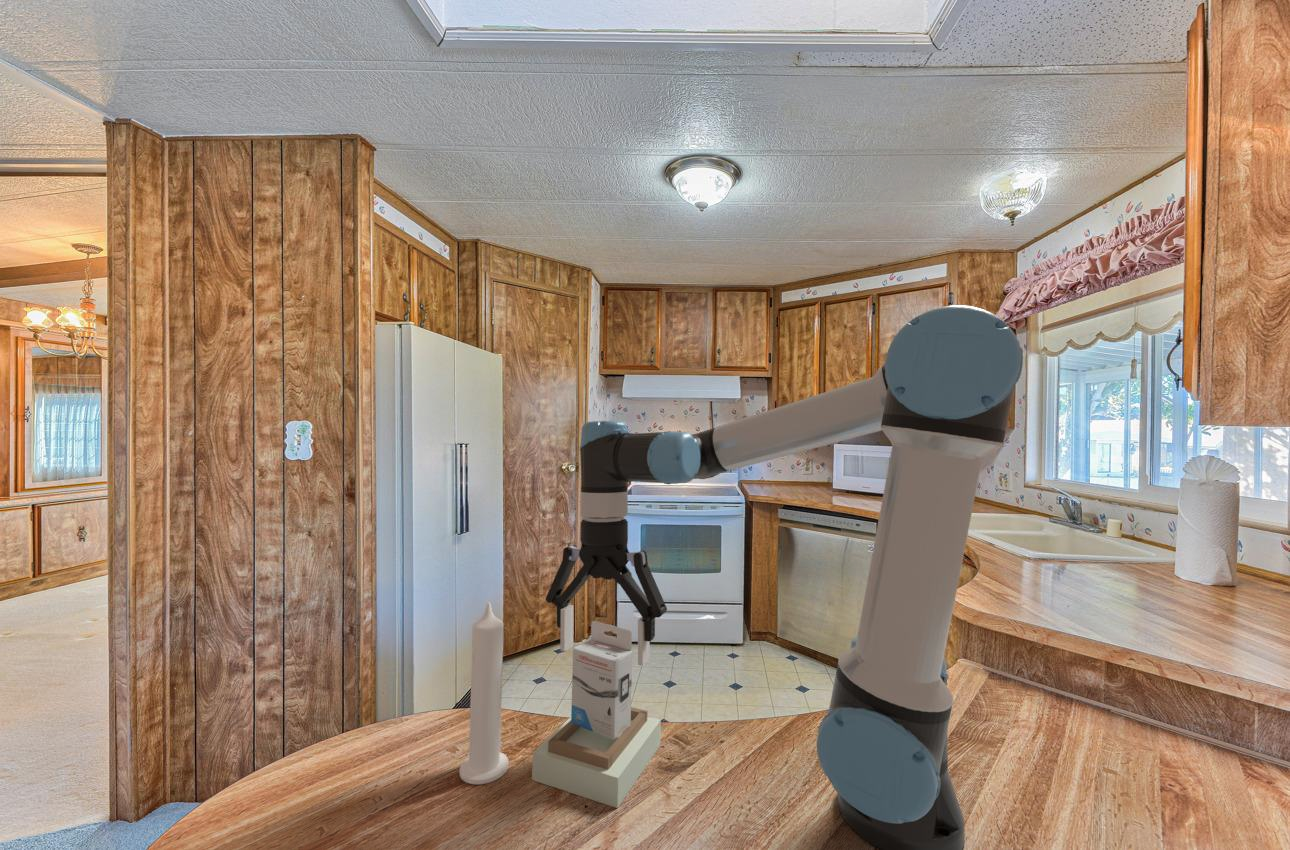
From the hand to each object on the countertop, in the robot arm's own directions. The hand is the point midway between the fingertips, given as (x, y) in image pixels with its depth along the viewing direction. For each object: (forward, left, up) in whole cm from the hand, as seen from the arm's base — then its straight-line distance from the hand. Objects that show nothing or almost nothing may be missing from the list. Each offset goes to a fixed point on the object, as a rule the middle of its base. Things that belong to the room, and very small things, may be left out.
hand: (604, 654), depth 79 cm
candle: (+15, +9, -17) cm, 24 cm away
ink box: (0, 0, -11) cm, 11 cm away
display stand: (0, 0, -16) cm, 16 cm away
